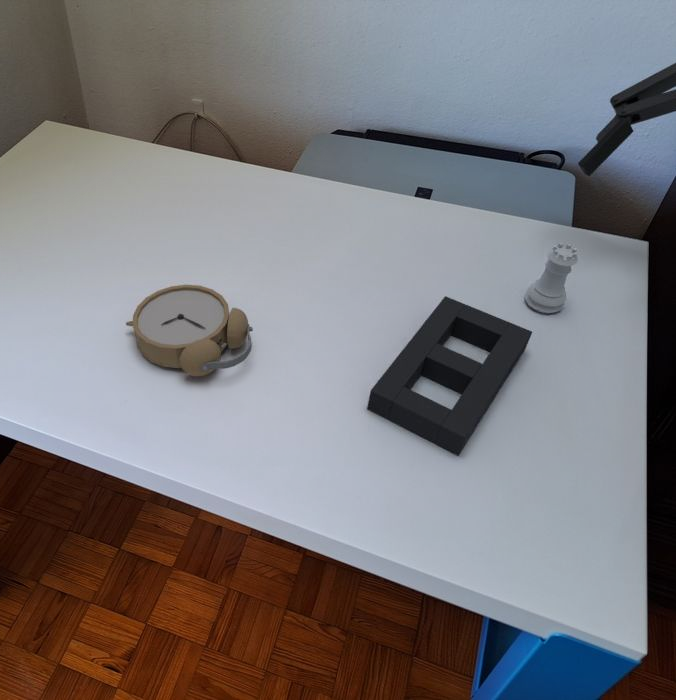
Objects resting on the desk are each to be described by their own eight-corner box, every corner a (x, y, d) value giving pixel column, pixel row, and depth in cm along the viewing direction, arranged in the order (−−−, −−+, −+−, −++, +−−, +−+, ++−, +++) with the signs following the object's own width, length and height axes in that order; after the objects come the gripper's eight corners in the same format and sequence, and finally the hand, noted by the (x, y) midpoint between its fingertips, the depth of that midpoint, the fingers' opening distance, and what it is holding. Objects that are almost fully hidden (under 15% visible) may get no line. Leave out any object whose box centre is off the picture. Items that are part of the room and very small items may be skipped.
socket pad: (524, 350, 77) (532, 331, 75) (458, 456, 68) (465, 438, 66) (440, 314, 82) (445, 295, 80) (366, 408, 72) (370, 390, 70)
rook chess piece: (536, 285, 85) (558, 232, 79) (570, 303, 82) (595, 250, 77) (516, 301, 83) (536, 249, 77) (549, 320, 80) (573, 267, 75)
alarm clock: (176, 273, 84) (272, 307, 76) (183, 305, 87) (277, 341, 79) (110, 322, 79) (206, 365, 70) (121, 354, 82) (214, 400, 73)
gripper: (687, -27, 74) (537, 133, 81) (940, 57, 59) (727, 248, 65) (698, 14, 80) (557, 161, 86) (933, 102, 64) (737, 274, 71)
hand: (630, 199), depth 76 cm, fingers open, 13 cm apart
